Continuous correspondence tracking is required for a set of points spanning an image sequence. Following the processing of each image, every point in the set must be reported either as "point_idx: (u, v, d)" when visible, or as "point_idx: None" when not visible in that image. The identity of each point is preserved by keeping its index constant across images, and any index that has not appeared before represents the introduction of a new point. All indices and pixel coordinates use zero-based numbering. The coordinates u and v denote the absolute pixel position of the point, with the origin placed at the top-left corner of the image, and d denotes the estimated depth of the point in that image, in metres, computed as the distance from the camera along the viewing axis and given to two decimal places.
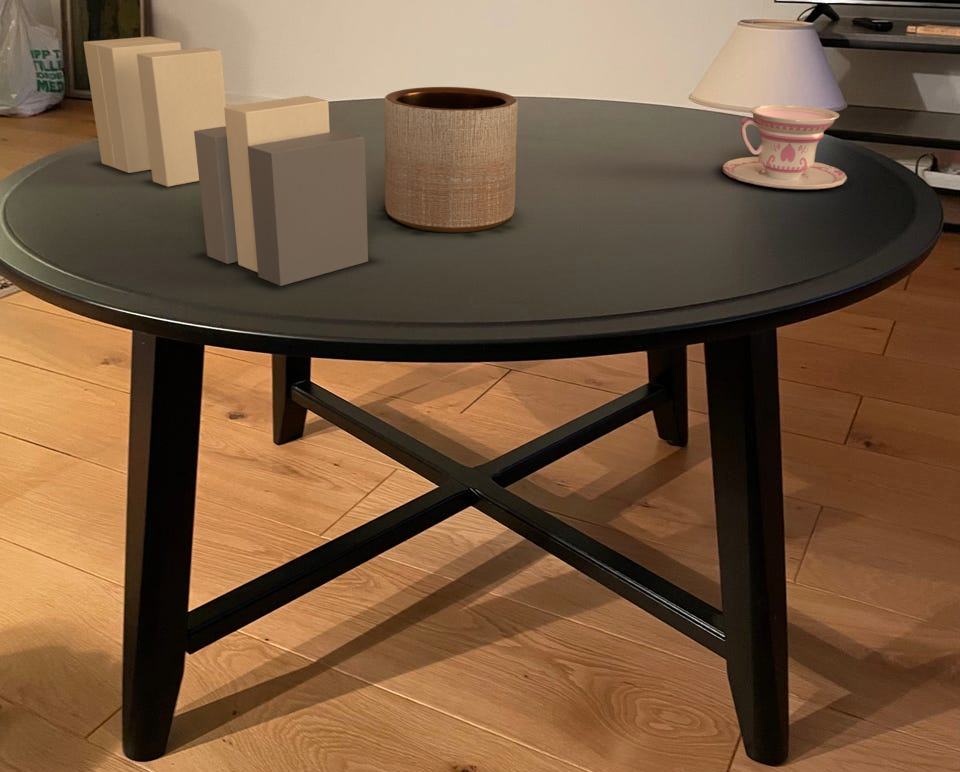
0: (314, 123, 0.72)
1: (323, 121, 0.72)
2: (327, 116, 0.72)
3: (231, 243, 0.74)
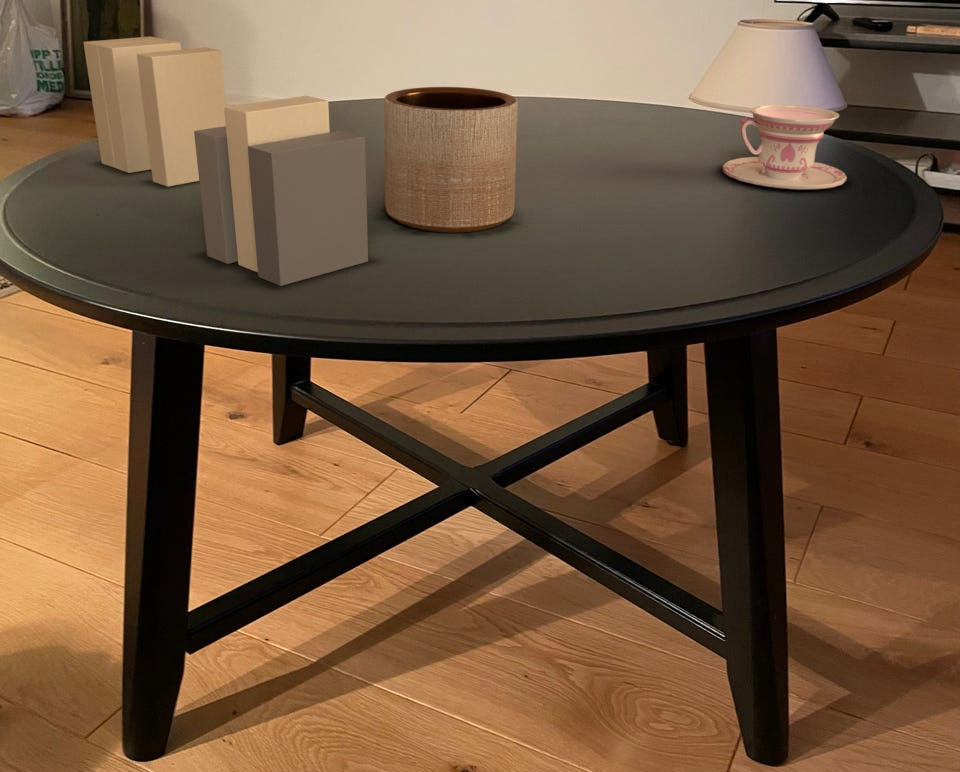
0: (314, 123, 0.72)
1: (323, 121, 0.72)
2: (327, 116, 0.72)
3: (231, 243, 0.74)
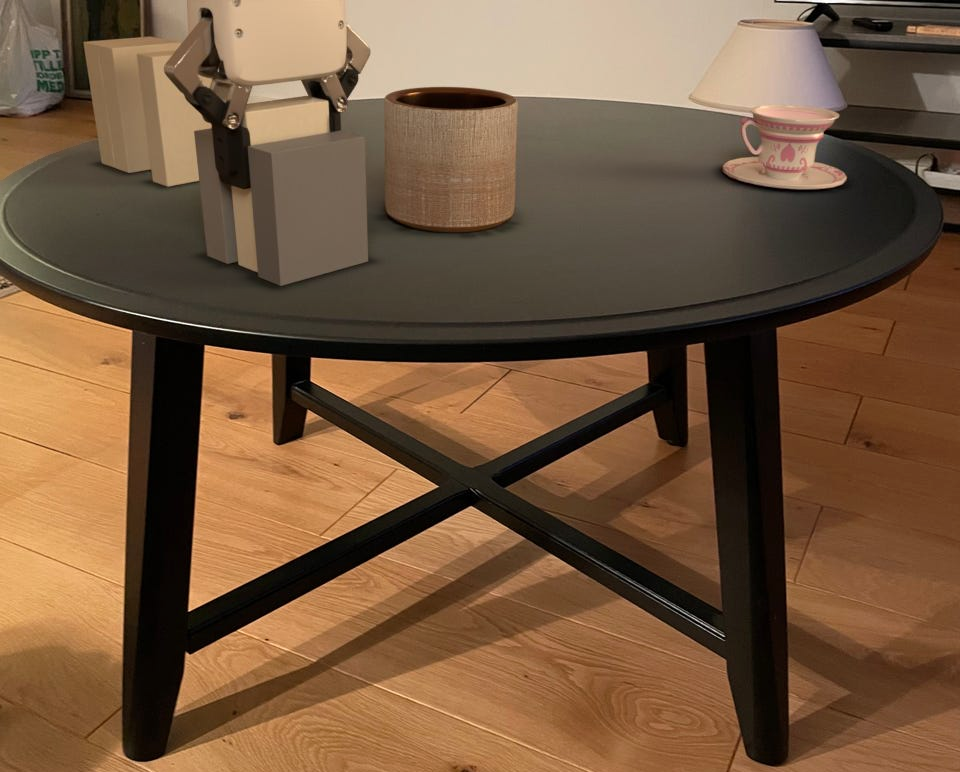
0: (315, 123, 0.72)
1: (323, 122, 0.72)
2: (327, 116, 0.72)
3: (231, 243, 0.74)
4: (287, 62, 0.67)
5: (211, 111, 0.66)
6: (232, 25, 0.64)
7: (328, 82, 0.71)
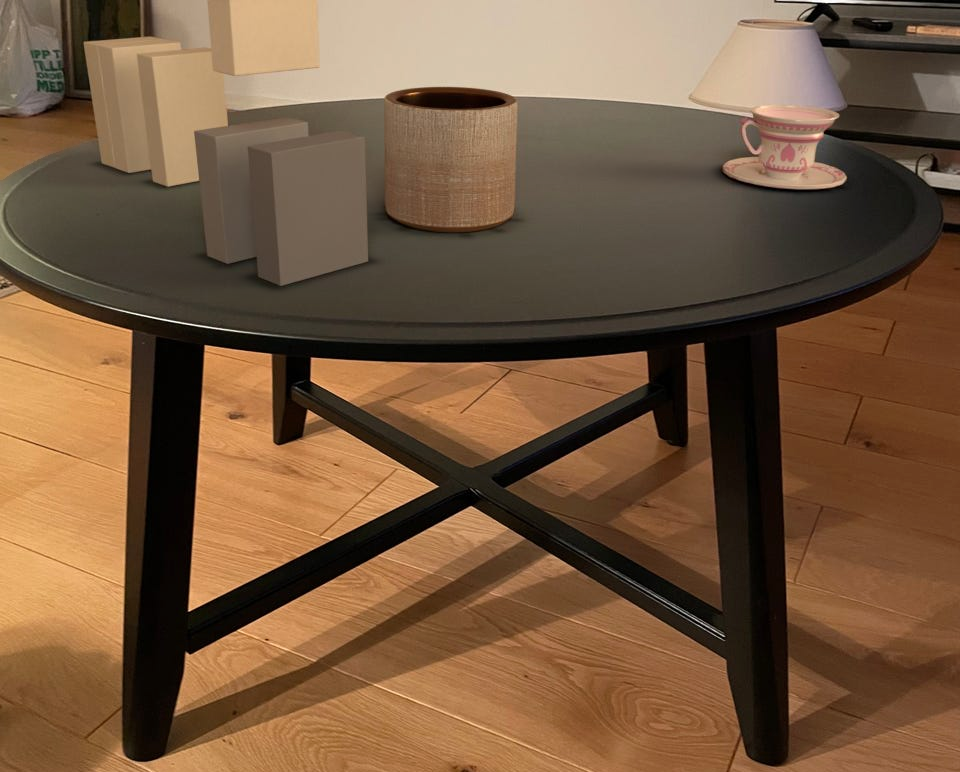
0: None
1: None
2: None
3: (231, 243, 0.74)
4: None
5: None
6: None
7: None
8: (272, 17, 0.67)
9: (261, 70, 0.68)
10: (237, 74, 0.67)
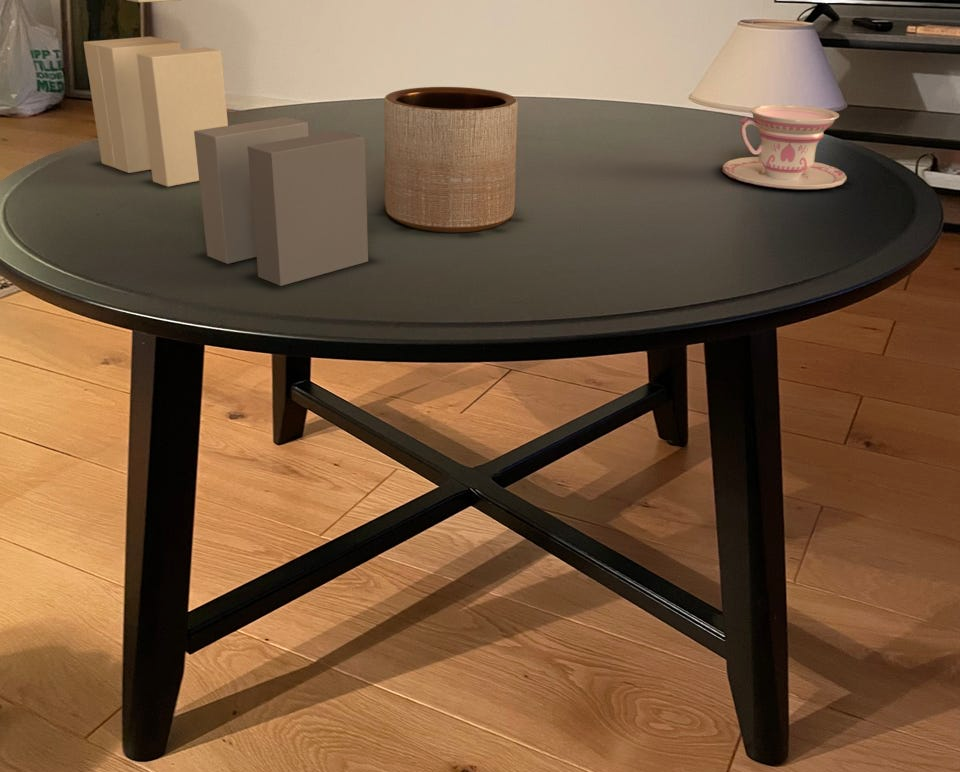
0: None
1: None
2: None
3: (231, 243, 0.74)
4: None
5: None
6: None
7: None
8: None
9: None
10: (141, 1, 0.83)
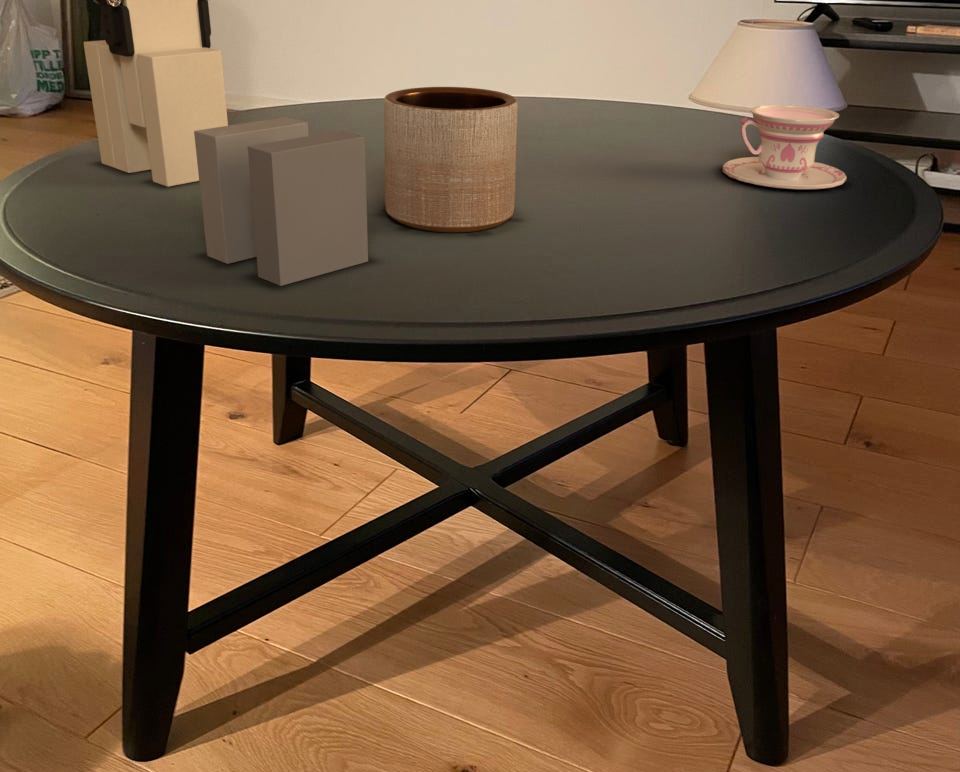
0: (185, 7, 0.91)
1: (192, 6, 0.92)
2: (196, 2, 0.92)
3: (231, 243, 0.74)
4: None
5: None
6: None
7: None
8: None
9: None
10: (145, 126, 0.92)
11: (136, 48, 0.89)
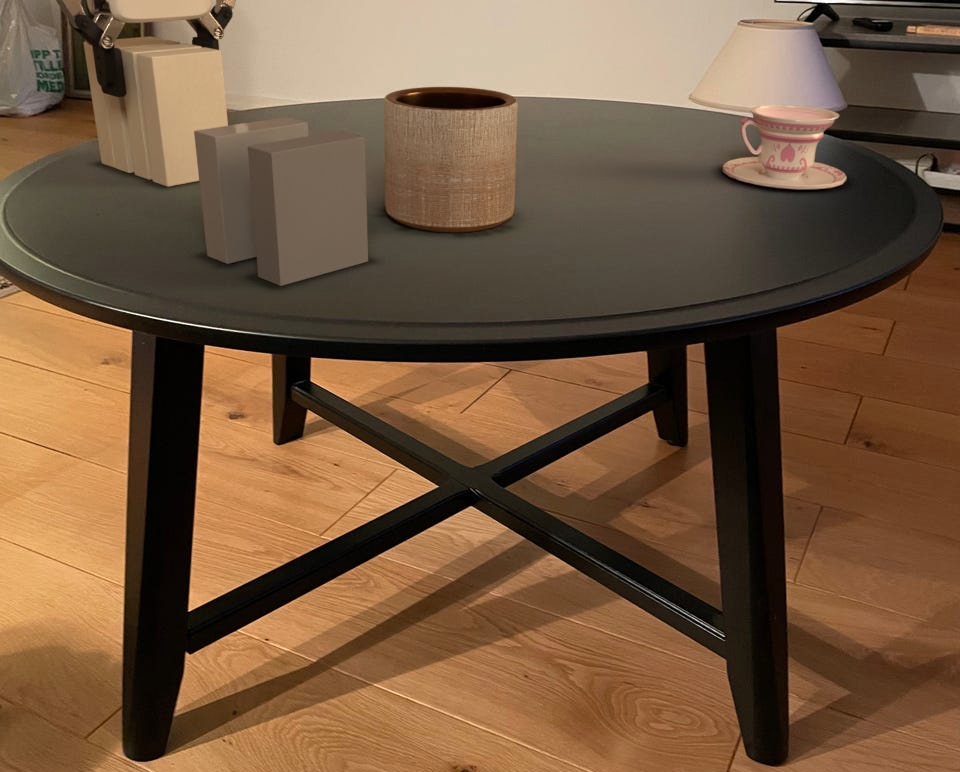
0: None
1: None
2: None
3: (231, 243, 0.74)
4: (160, 5, 0.89)
5: (89, 34, 0.86)
6: None
7: (203, 18, 0.93)
8: None
9: None
10: (150, 178, 0.95)
11: None
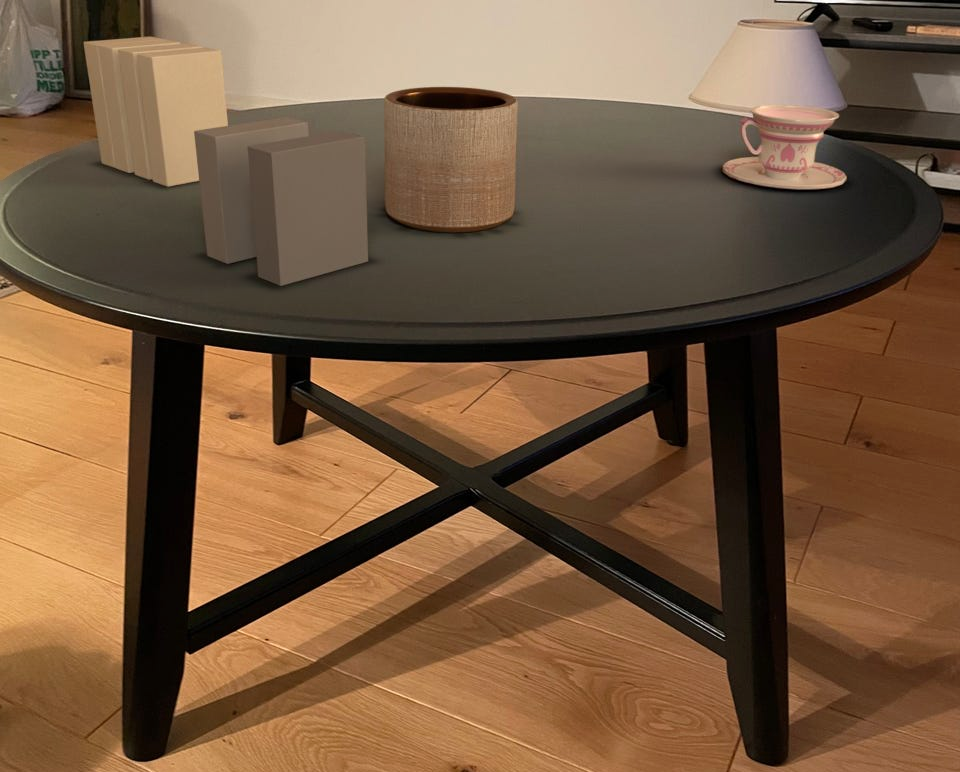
0: None
1: None
2: None
3: (231, 243, 0.74)
4: None
5: None
6: None
7: None
8: None
9: None
10: (150, 178, 0.95)
11: None
